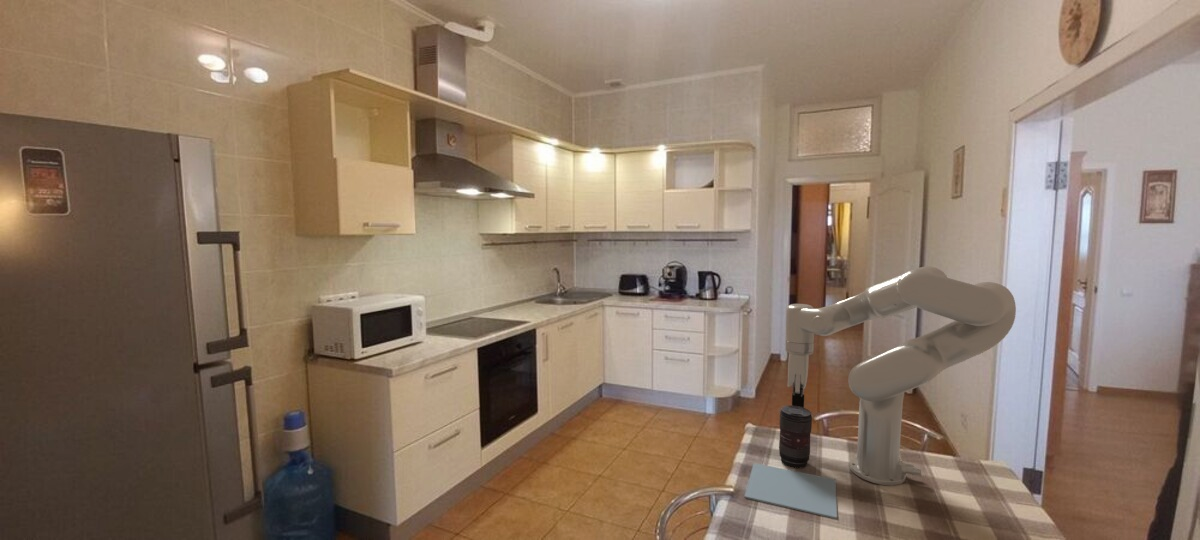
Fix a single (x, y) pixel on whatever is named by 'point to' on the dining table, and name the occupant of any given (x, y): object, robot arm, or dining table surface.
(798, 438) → the camera lens
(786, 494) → the blue mat
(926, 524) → the dining table surface
